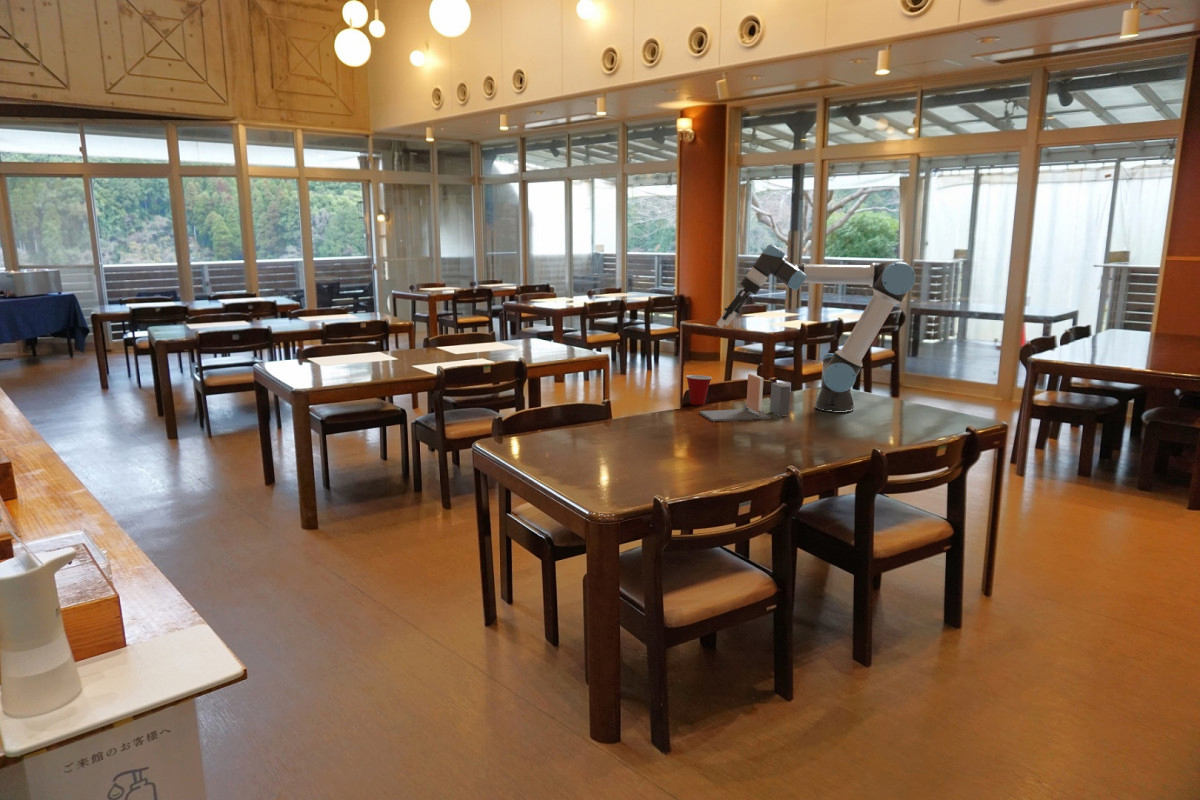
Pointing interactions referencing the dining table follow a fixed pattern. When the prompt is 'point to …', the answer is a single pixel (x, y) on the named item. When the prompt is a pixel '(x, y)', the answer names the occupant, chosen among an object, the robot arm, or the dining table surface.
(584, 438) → the dining table surface
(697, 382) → the plastic cup
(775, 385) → the gray rectangular block
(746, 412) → the tile mat
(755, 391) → the tile
